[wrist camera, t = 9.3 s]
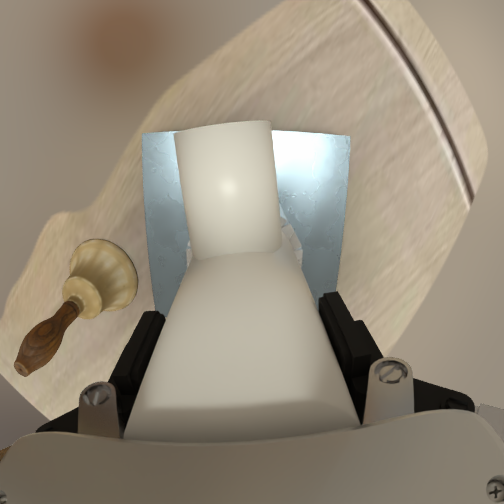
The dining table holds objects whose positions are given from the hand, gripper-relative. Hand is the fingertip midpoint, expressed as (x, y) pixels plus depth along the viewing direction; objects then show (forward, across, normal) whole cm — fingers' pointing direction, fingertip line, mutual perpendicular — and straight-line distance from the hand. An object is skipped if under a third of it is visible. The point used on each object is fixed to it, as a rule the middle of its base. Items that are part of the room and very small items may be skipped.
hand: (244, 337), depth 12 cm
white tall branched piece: (+10, 0, -2) cm, 10 cm away
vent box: (+17, 0, 0) cm, 17 cm away
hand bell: (+18, +16, +4) cm, 24 cm away
